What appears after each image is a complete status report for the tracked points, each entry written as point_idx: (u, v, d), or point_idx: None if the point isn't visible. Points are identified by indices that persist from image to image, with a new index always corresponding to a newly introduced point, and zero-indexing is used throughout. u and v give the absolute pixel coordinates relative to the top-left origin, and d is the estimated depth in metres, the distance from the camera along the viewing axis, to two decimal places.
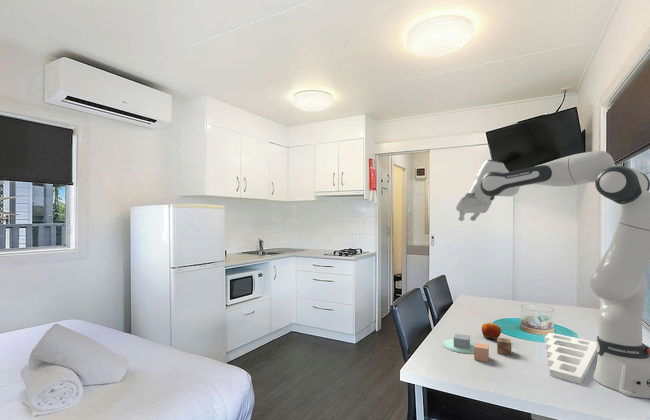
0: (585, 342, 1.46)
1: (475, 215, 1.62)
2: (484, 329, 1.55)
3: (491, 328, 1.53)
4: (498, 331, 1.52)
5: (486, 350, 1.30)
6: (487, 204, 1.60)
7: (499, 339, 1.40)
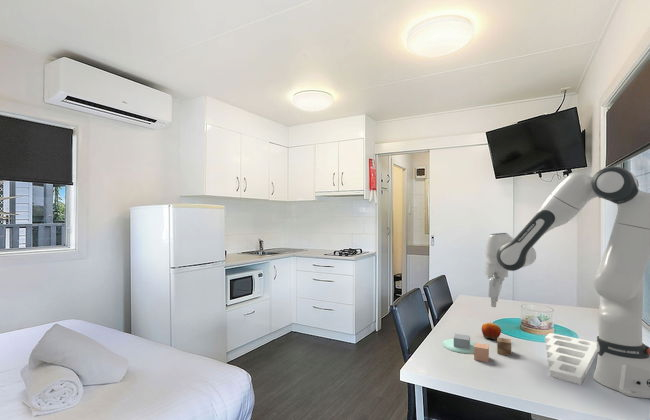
0: (585, 342, 1.45)
1: None
2: (484, 329, 1.55)
3: (491, 328, 1.53)
4: (498, 331, 1.52)
5: (486, 350, 1.30)
6: None
7: (499, 339, 1.40)
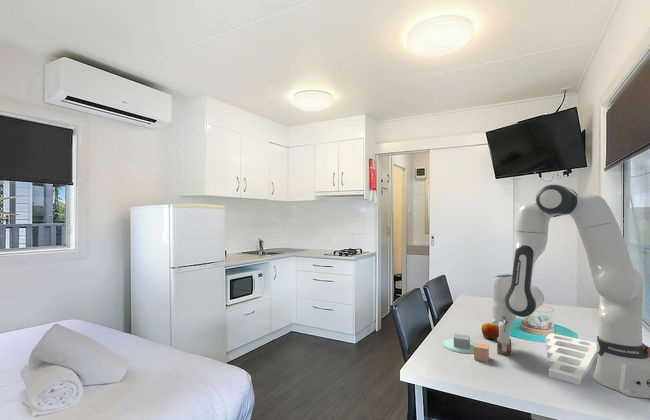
0: (586, 343, 1.45)
1: None
2: (484, 329, 1.55)
3: (491, 328, 1.53)
4: (498, 331, 1.52)
5: (486, 350, 1.30)
6: None
7: None
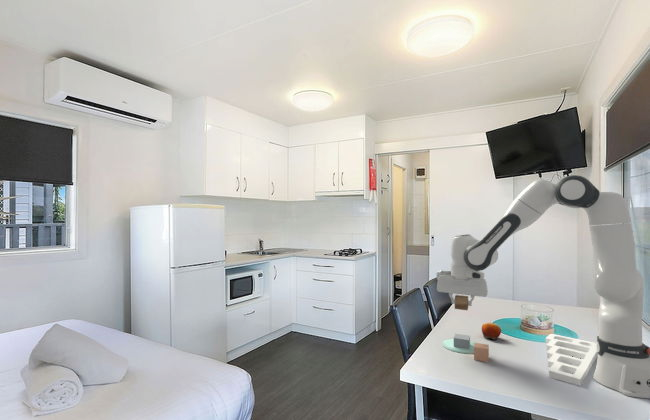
0: (587, 343, 1.44)
1: (471, 299, 1.44)
2: (484, 329, 1.55)
3: (491, 328, 1.53)
4: (498, 331, 1.52)
5: (486, 350, 1.30)
6: (480, 285, 1.41)
7: (461, 295, 1.48)
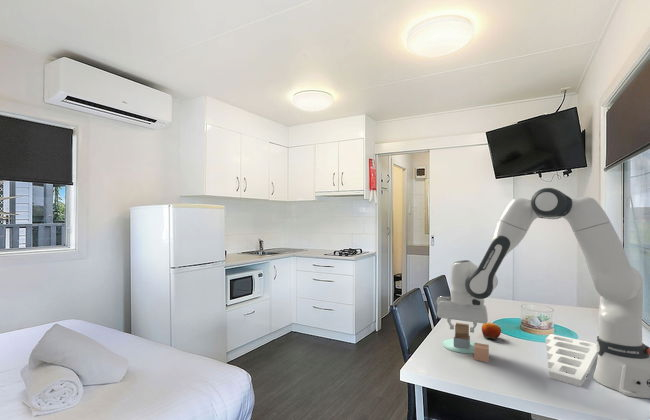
0: (587, 344, 1.44)
1: (473, 326, 1.43)
2: (484, 329, 1.55)
3: (491, 328, 1.53)
4: (498, 331, 1.52)
5: (486, 350, 1.30)
6: (480, 311, 1.41)
7: (461, 323, 1.47)
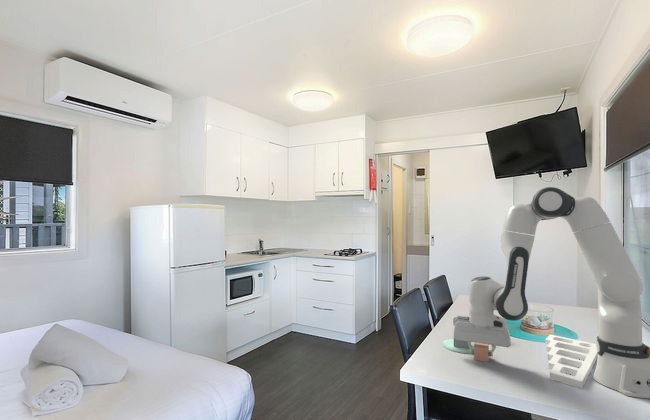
0: (587, 344, 1.43)
1: (492, 349, 1.31)
2: None
3: None
4: None
5: (486, 350, 1.30)
6: (502, 334, 1.28)
7: None
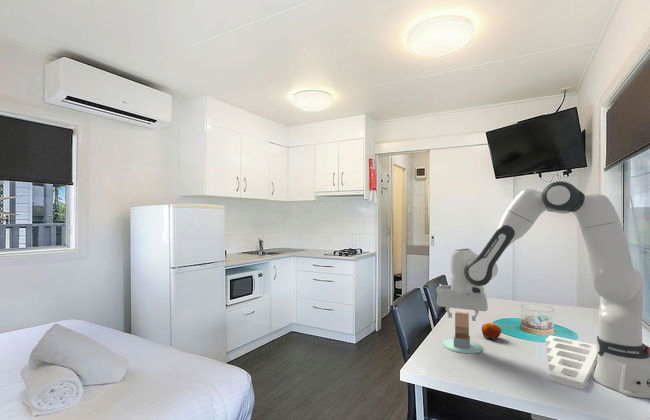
0: (587, 345, 1.42)
1: (475, 314, 1.43)
2: (484, 329, 1.55)
3: (491, 328, 1.53)
4: (498, 331, 1.52)
5: (466, 316, 1.43)
6: (480, 299, 1.41)
7: None
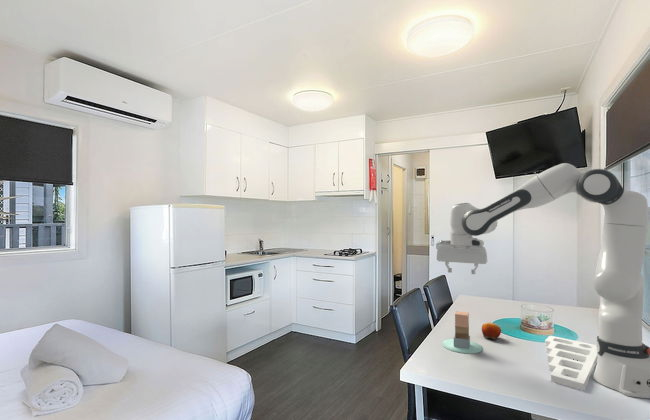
0: (587, 345, 1.42)
1: None
2: (484, 329, 1.55)
3: (491, 328, 1.53)
4: (498, 331, 1.52)
5: (466, 316, 1.43)
6: (480, 252, 1.41)
7: None
